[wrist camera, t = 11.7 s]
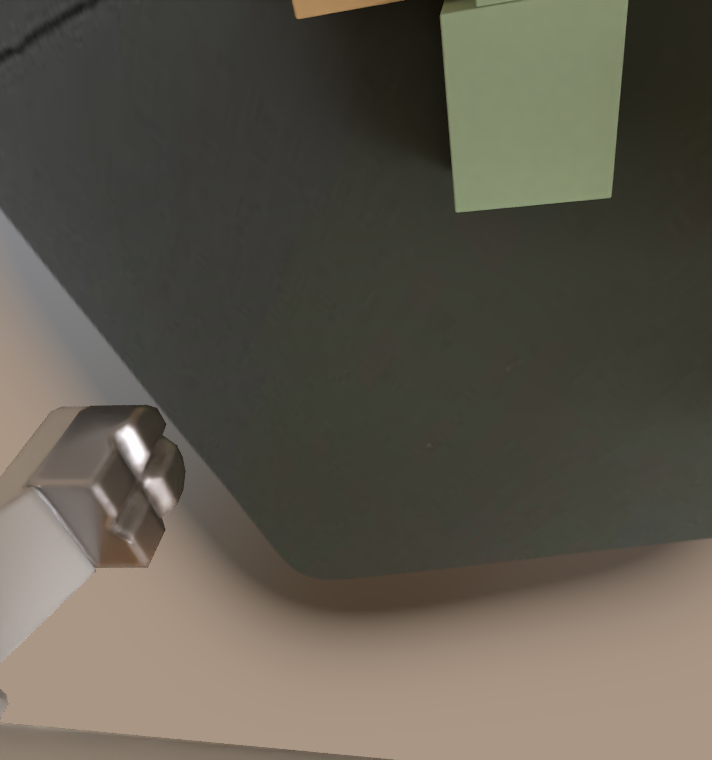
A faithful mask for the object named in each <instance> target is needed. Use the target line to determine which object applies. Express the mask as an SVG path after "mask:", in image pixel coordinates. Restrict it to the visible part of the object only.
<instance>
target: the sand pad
mask: <svg viewBox="0 0 712 760" xmlns="http://www.w3.org/2000/svg"><path fill="white" fill-rule="evenodd" d="M398 1H403V0H292V3H293V8H294V13H295V17H296V18H297V19H302V18H308V17H314V16H319V15H325V14H330V13H336V12H342V11H347V10H353V9H358V8H364V7H370V6H375V5H381V4H387V3H392V2H398Z"/></svg>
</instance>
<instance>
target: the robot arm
mask: <svg viewBox="0 0 712 760" xmlns="http://www.w3.org/2000/svg"><path fill="white" fill-rule="evenodd" d="M165 426H166V423H165V421H164V419H163V418H162V416H161V414H160V412H159V411H158V409H157V408H155V407H152V406H149V405H113V406H89V407H61V408H58V409H56V410H54V411H52V412H50V413H49V415H48V416H47V417H46V419H45V420H44V421H43V422H42V424H41V425H40V426H39V428H38V429H37V430H36V431H35V433H34V434H33V435H32V437H31V438H30V439H29V440H28V442H27V443H26V444H25V446H24V447H23V448H22V449H21V451H20V452H19V453H18V455H17V456H16V457H15V459H14V460H13V461H12V462H11V464H10V465H9V466H8V467H7V469H6V470H5V471H4V473H3V474H2V475H1V477H0V664H1V663H2V661H4V660H5V659H6V658H7V657H8V656H9V655H10V654H11V653H12V652H13V651H14V650H15V649H16V648H17V647H18V646H19V645H20V644H21V643H22V642H23V641H24V640H25V639H26V638H27V637H28V636H29V635H30V634H32V633H33V631H34V630H36V629H37V628H38V627H39V626H40V625H41V624H42V623H43V622H44V621H45V620H46V619H47V618H48V617H49V616H50V615H51V614H52V613H53V612H54V611H55V610H56V609H57V608H58V607H59V606H61V605H62V604H63V603H64V602H65V601H66V600H67V599H68V598H69V597H70V596H71V595H72V594H73V593H74V592H75V591H76V590H77V589H78V588H79V587H80V586H81V585H82V584H83V583H84V582H85V581H86V580H87V579H88V578H90V577H91V576H92V574H94V573H95V572H96V569H95V568H148V566H149V564H150V562H151V560H152V557H153V555H154V553H155V551H156V549H157V547H158V545H159V542H160V540H161V538H162V536H163V534H164V532H165V527H164V523H163V520H162V517H163V516H164V515H165V514H166V513H168V512H169V511H170V510H171V509H173V508H174V507H175V506H176V505H177V503H178V501H179V499H180V496H181V494H182V492H183V488H184V479H185V466H184V461H183V457H182V455H181V453H180V451H179V449H178V447H177V445H175V444H174V443H173V442H172V441H170V440H169V439H167V438H166V437H165V436H163V432H164V429H165ZM7 705H8V701H7V696H6V694H5V693H4V692H3V691H2V690H0V718H1V716H2V715H3V713H4V711H5V709H6V707H7ZM0 760H390V759H381V758H371V757H359V756H348V755H339V754H328V753H317V752H307V751H296V750H286V749H276V748H265V747H255V746H244V745H234V744H223V743H212V742H202V741H191V740H181V739H170V738H159V737H149V736H138V735H128V734H116V733H107V732H96V731H86V730H74V729H65V728H53V727H43V726H33V725H22V724H12V723H1V722H0ZM391 760H392V759H391Z"/></svg>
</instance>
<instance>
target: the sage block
mask: <svg viewBox="0 0 712 760" xmlns="http://www.w3.org/2000/svg"><path fill="white" fill-rule="evenodd" d="M627 10H628V0H444V3H443V7H442V10H441V14H440V25H441V38H442V50H443V63H444V75H445V88H446V101H447V113H448V126H449V138H450V151H451V164H452V176H453V189H454V201H455V211H456V212H467V211H477V210H488V209H498V208H509V207H519V206H530V205H540V204H551V203H561V202H572V201H582V200H593V199H603V198H611V196H612V184H613V173H614V161H615V150H616V138H617V126H618V115H619V103H620V91H621V80H622V68H623V57H624V45H625V33H626V22H627Z"/></svg>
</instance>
